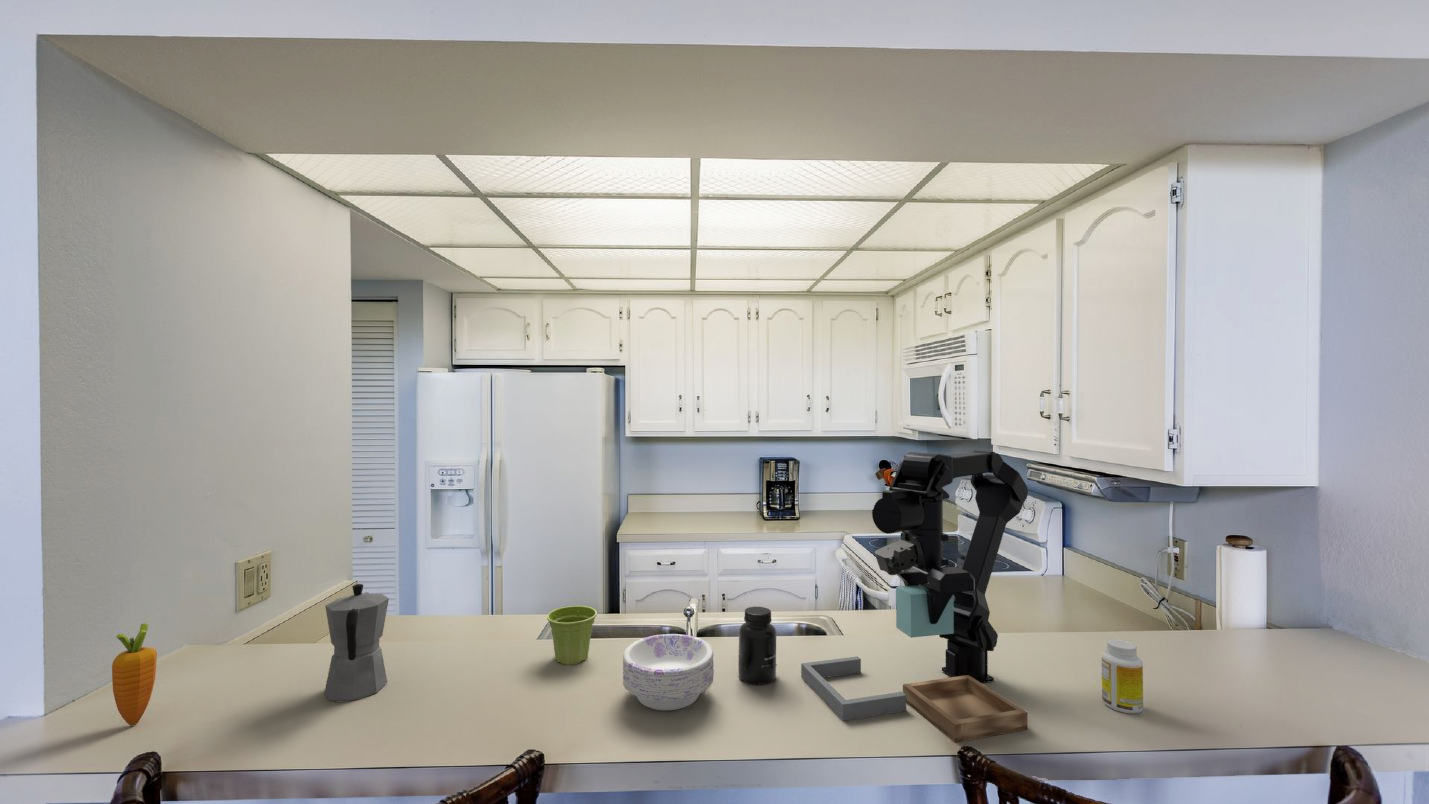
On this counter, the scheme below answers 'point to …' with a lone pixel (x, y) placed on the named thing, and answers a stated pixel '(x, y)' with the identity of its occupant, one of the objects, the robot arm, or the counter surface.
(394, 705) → the counter surface
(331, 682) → the coffeepot
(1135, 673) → the supplement bottle
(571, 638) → the plant pot
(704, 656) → the paper bowls
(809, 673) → the bay
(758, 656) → the supplement bottle
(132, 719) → the carrot
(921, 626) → the tall aqua prism
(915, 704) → the tray
